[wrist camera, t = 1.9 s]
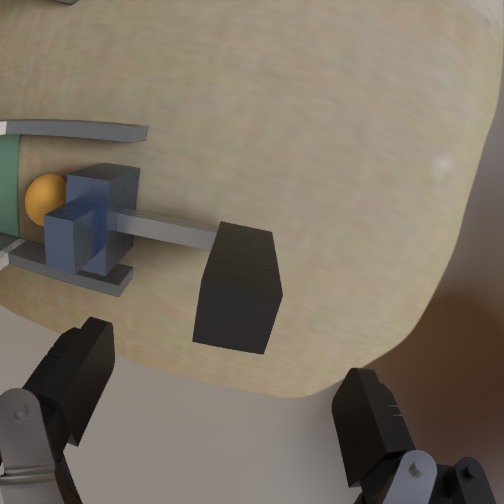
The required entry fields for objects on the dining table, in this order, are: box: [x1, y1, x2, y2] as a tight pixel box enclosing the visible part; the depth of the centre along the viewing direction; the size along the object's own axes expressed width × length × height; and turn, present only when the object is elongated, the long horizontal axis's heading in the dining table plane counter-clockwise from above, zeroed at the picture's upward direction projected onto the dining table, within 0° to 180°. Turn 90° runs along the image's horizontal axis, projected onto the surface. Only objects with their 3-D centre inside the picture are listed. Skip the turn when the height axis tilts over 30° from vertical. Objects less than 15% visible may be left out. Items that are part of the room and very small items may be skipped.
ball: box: [25, 174, 67, 226], centre depth 19 cm, size 4×4×4 cm
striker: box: [44, 163, 283, 355], centre depth 16 cm, size 6×12×11 cm, turn 77°
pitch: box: [0, 119, 148, 297], centre depth 16 cm, size 12×20×9 cm, turn 78°
